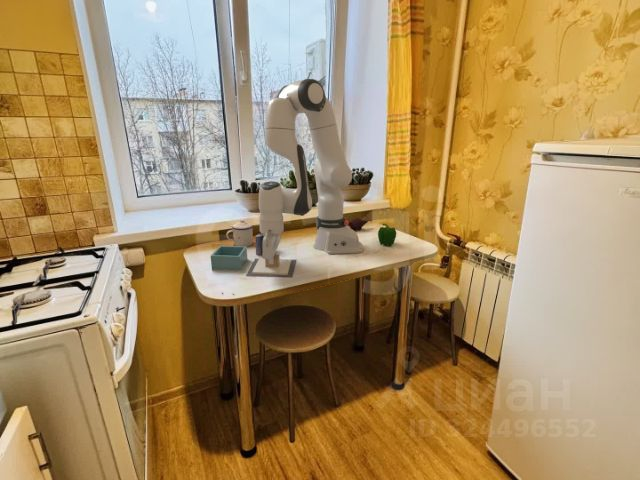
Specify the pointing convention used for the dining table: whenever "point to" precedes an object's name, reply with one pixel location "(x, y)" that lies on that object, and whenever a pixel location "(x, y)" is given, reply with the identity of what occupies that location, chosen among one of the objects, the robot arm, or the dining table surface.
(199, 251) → the dining table surface
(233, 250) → the teal open box
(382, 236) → the bell pepper
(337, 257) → the dining table surface
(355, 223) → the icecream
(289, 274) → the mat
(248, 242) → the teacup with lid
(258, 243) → the flask
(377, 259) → the dining table surface
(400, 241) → the dining table surface
